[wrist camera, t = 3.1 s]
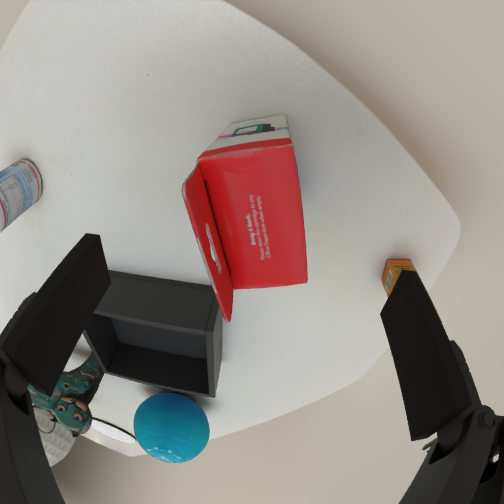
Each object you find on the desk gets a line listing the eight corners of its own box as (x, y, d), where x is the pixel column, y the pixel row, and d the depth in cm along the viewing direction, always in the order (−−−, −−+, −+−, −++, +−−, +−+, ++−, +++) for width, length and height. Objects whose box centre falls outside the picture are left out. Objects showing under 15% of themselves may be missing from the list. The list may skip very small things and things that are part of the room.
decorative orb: (148, 401, 56) (132, 457, 44) (140, 370, 48) (117, 439, 36) (212, 416, 57) (202, 474, 45) (217, 389, 48) (205, 463, 36)
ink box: (299, 201, 27) (314, 323, 15) (247, 208, 27) (223, 330, 15) (286, 111, 22) (299, 161, 10) (228, 121, 23) (170, 183, 11)
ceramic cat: (112, 355, 46) (76, 449, 30) (116, 371, 50) (85, 456, 33) (32, 320, 44) (-12, 396, 28) (40, 338, 48) (3, 409, 32)
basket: (223, 287, 33) (213, 332, 28) (221, 360, 42) (214, 398, 37) (93, 267, 34) (68, 302, 28) (118, 340, 43) (104, 372, 37)
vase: (45, 366, 57) (8, 450, 34) (71, 371, 54) (32, 467, 31) (73, 392, 64) (43, 470, 41) (101, 398, 61) (71, 486, 38)
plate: (122, 440, 90) (121, 443, 89) (79, 417, 82) (78, 420, 80) (146, 440, 81) (146, 443, 80) (96, 414, 73) (95, 417, 72)
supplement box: (411, 256, 29) (445, 322, 21) (404, 280, 31) (431, 346, 23) (386, 256, 29) (415, 325, 21) (379, 280, 31) (403, 349, 23)
